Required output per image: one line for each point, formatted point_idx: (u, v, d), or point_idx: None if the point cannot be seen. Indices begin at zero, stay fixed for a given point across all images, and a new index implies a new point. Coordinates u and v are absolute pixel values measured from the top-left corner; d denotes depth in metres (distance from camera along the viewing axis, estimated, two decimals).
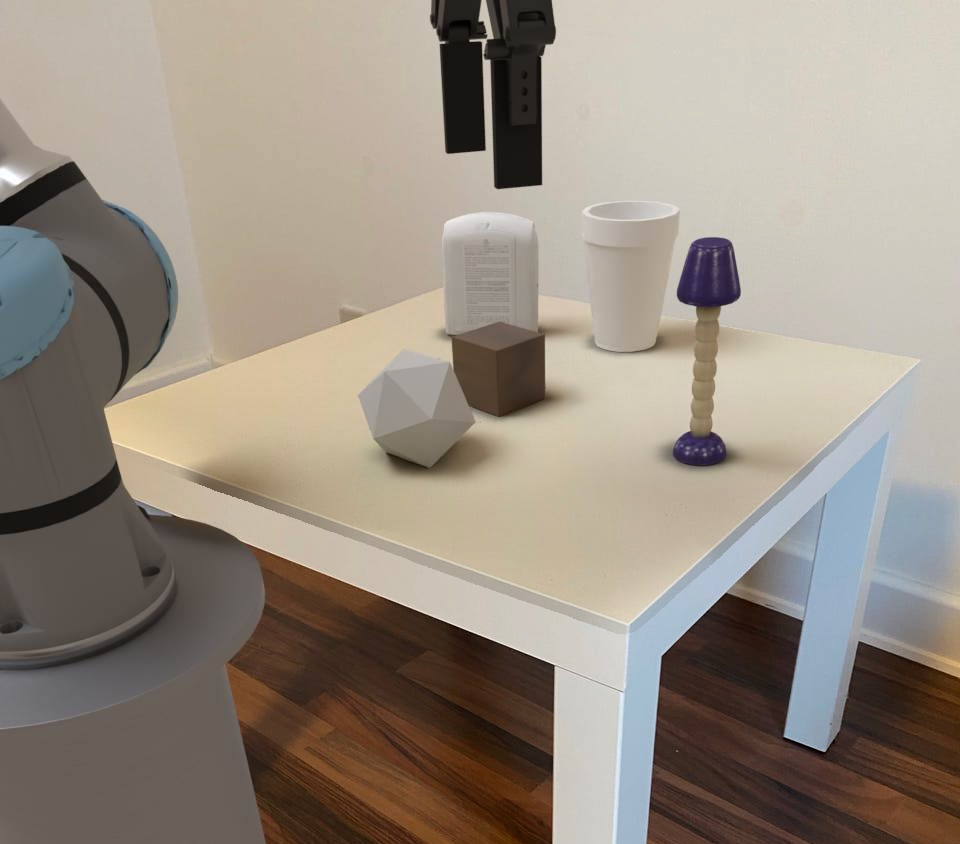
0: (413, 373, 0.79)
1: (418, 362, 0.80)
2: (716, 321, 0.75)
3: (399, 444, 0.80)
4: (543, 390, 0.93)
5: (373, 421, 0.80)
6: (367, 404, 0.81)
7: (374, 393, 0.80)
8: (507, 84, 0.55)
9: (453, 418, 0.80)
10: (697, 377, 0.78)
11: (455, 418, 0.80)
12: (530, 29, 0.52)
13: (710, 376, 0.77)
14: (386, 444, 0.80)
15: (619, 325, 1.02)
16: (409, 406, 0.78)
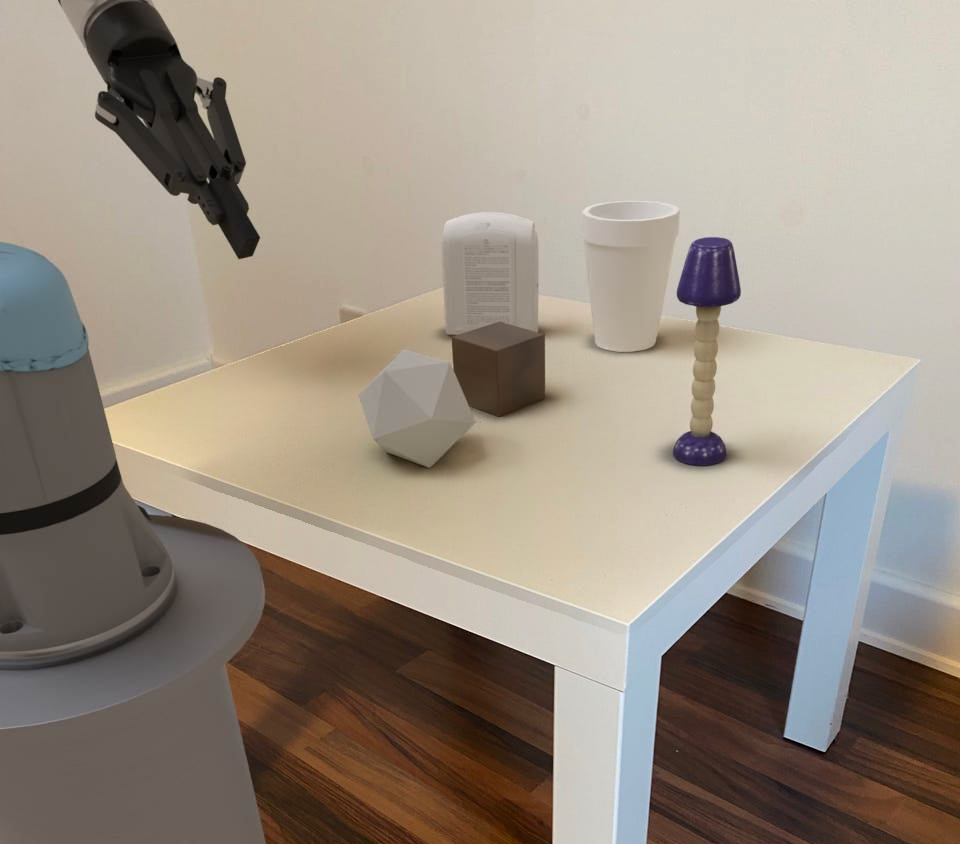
0: (413, 374, 0.79)
1: (419, 362, 0.80)
2: (716, 321, 0.75)
3: (399, 444, 0.80)
4: (543, 390, 0.93)
5: (373, 421, 0.80)
6: (367, 404, 0.81)
7: (374, 393, 0.80)
8: None
9: (453, 418, 0.80)
10: (697, 377, 0.78)
11: (455, 418, 0.80)
12: (172, 185, 0.90)
13: (710, 376, 0.77)
14: (386, 444, 0.80)
15: (619, 325, 1.02)
16: (409, 406, 0.78)
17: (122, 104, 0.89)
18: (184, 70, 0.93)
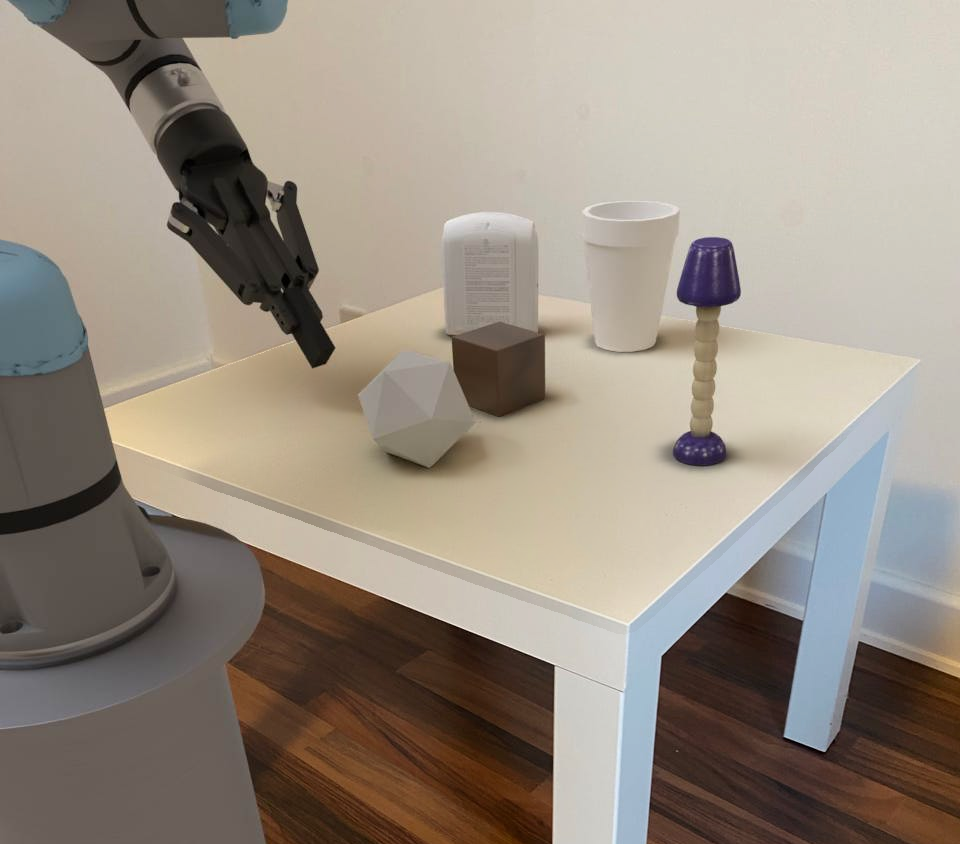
0: (413, 373, 0.79)
1: (419, 362, 0.80)
2: (716, 321, 0.75)
3: (399, 444, 0.80)
4: (543, 390, 0.93)
5: (373, 421, 0.80)
6: (367, 404, 0.81)
7: (374, 393, 0.80)
8: None
9: (453, 418, 0.80)
10: (697, 377, 0.78)
11: (455, 418, 0.80)
12: (246, 295, 0.88)
13: (710, 376, 0.77)
14: (386, 444, 0.80)
15: (619, 325, 1.02)
16: (409, 406, 0.78)
17: (196, 215, 0.87)
18: (255, 175, 0.91)
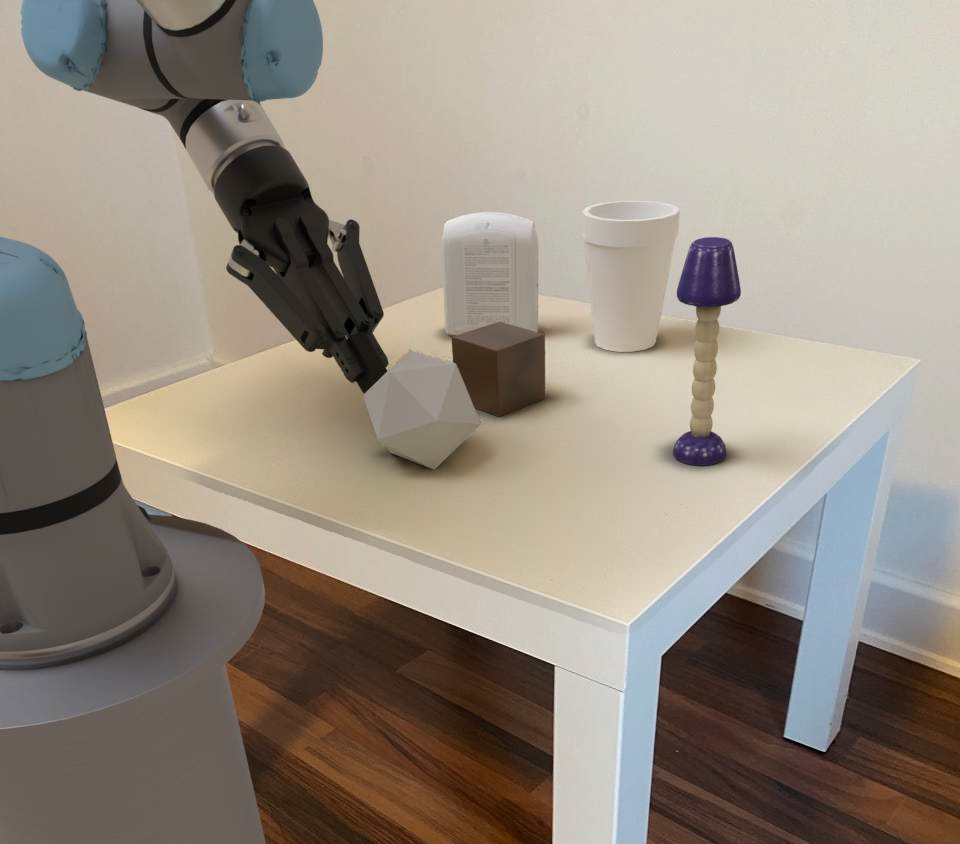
0: (419, 375, 0.78)
1: (424, 363, 0.79)
2: (716, 321, 0.75)
3: (404, 445, 0.80)
4: (543, 390, 0.93)
5: (378, 422, 0.80)
6: (372, 404, 0.81)
7: (380, 394, 0.79)
8: None
9: (458, 420, 0.79)
10: (697, 377, 0.78)
11: (460, 420, 0.80)
12: (309, 342, 0.84)
13: (710, 376, 0.77)
14: (391, 445, 0.80)
15: (619, 325, 1.02)
16: (414, 408, 0.78)
17: (258, 258, 0.82)
18: (317, 214, 0.87)
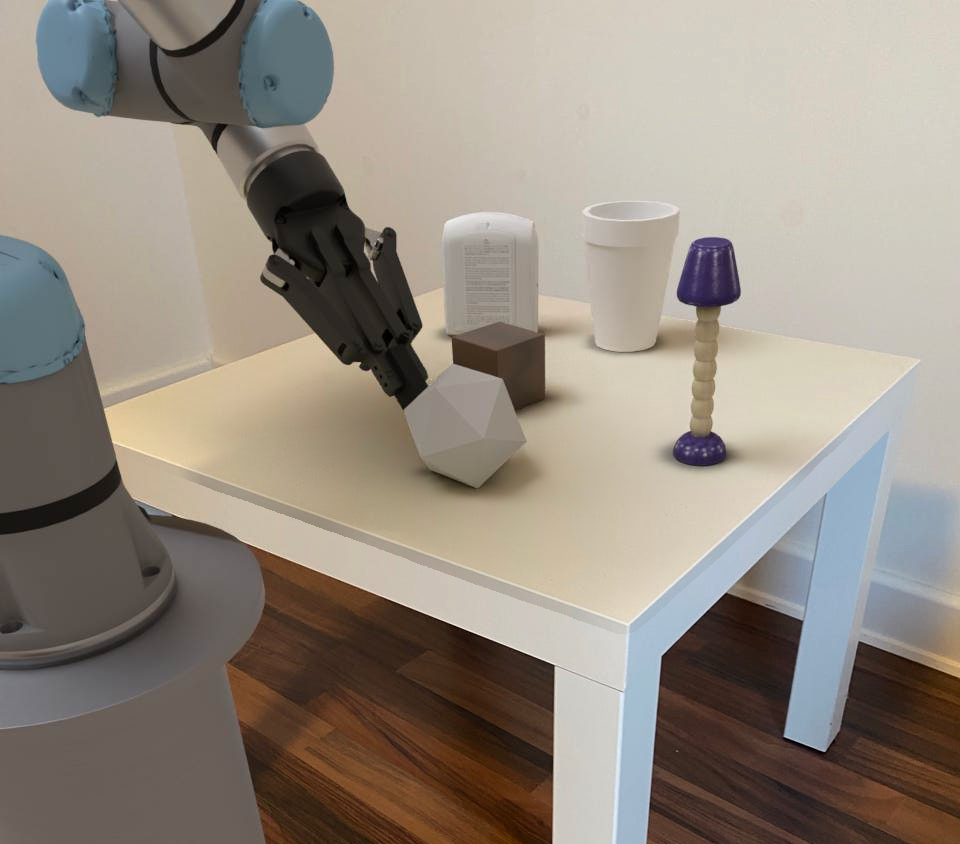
0: (464, 390, 0.75)
1: (470, 378, 0.76)
2: (716, 321, 0.75)
3: (447, 463, 0.77)
4: (543, 390, 0.93)
5: (420, 439, 0.76)
6: (414, 420, 0.77)
7: (423, 410, 0.76)
8: None
9: (504, 438, 0.76)
10: (698, 377, 0.78)
11: (506, 437, 0.76)
12: (346, 355, 0.80)
13: (710, 376, 0.77)
14: (433, 463, 0.77)
15: (619, 325, 1.02)
16: (460, 425, 0.75)
17: (293, 268, 0.79)
18: (353, 222, 0.83)
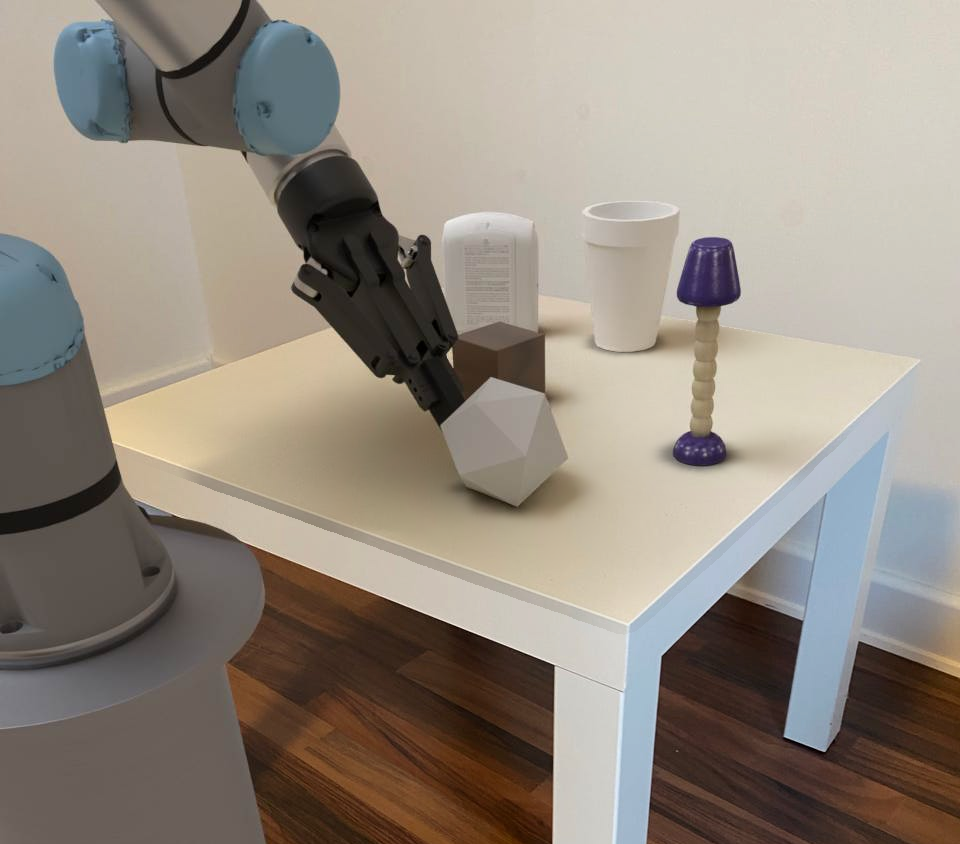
0: (505, 406, 0.72)
1: (510, 393, 0.73)
2: (716, 321, 0.75)
3: (487, 481, 0.74)
4: (543, 390, 0.93)
5: (459, 456, 0.74)
6: (452, 436, 0.75)
7: (462, 425, 0.73)
8: None
9: (547, 455, 0.73)
10: (697, 377, 0.78)
11: (548, 454, 0.74)
12: (380, 368, 0.78)
13: (710, 376, 0.77)
14: (473, 481, 0.74)
15: (619, 325, 1.02)
16: (501, 442, 0.72)
17: (326, 278, 0.76)
18: (386, 229, 0.81)
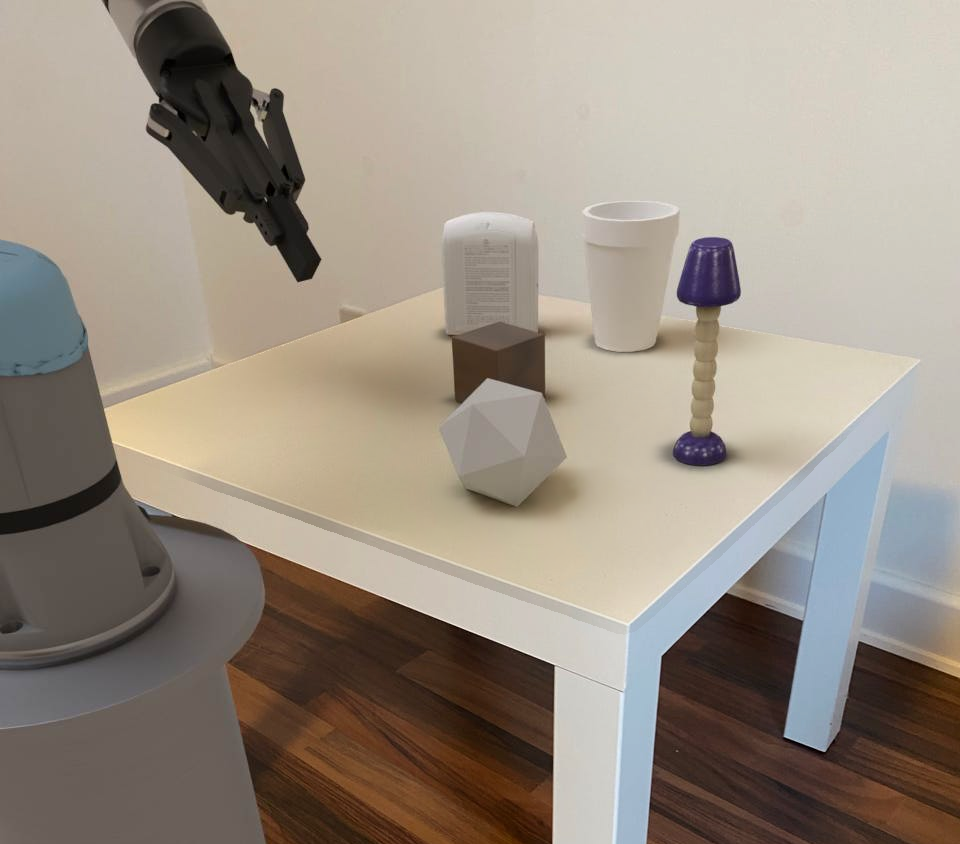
0: (503, 406, 0.72)
1: (508, 393, 0.73)
2: (716, 321, 0.75)
3: (486, 482, 0.74)
4: (543, 390, 0.93)
5: (457, 457, 0.74)
6: (450, 438, 0.75)
7: (460, 427, 0.73)
8: None
9: (545, 454, 0.73)
10: (698, 377, 0.78)
11: (547, 453, 0.74)
12: (227, 203, 0.84)
13: (710, 376, 0.77)
14: (472, 482, 0.74)
15: (619, 325, 1.02)
16: (499, 442, 0.72)
17: (176, 117, 0.83)
18: (240, 81, 0.87)
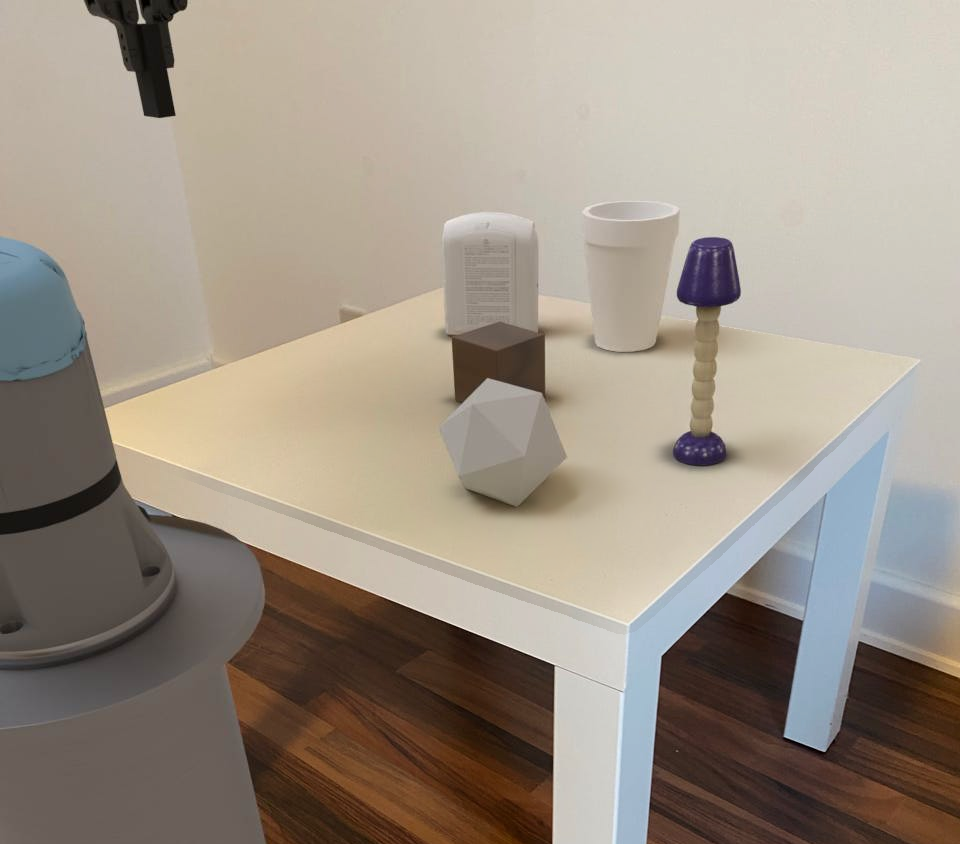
0: (503, 406, 0.72)
1: (508, 393, 0.73)
2: (716, 321, 0.75)
3: (486, 482, 0.74)
4: (543, 390, 0.93)
5: (457, 457, 0.74)
6: (450, 438, 0.75)
7: (460, 427, 0.73)
8: None
9: (545, 454, 0.73)
10: (697, 377, 0.78)
11: (547, 453, 0.74)
12: (94, 11, 0.78)
13: (710, 376, 0.77)
14: (472, 482, 0.74)
15: (619, 325, 1.02)
16: (499, 442, 0.72)
17: None
18: None
